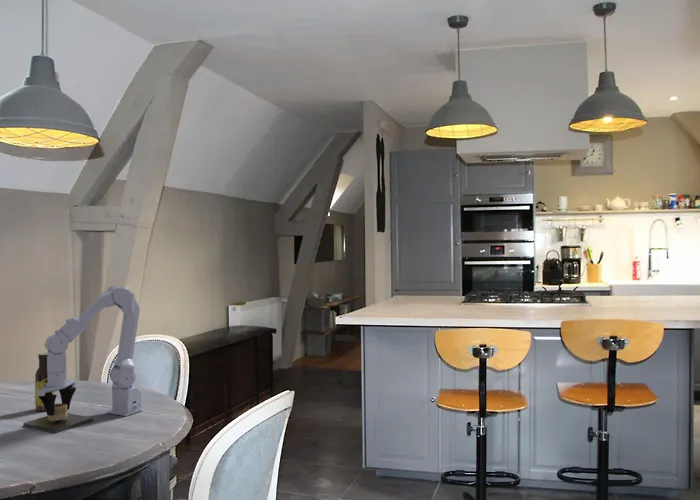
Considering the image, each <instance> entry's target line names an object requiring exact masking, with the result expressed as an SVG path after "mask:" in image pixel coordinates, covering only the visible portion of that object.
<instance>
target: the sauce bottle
mask: <svg viewBox="0 0 700 500" xmlns="http://www.w3.org/2000/svg"><path fill="white" fill-rule="evenodd" d="M37 356H38V357H37V358H38V368H37V370H36V372H35V375H34V376H35V381H34V386H35V387H34V389H35V390H34V392H35V393H34V395H35V396H34V398H35V399H34V401H35V404H34V405H35V411H37V412H46V409H45V407H44V404H43V402H42V401H41V399H40V398H39V396H38V390H39V389H41V388H43V387H45V386H46V384H48V372H47V357H48V356H47V352H42V353H38V355H37ZM55 392H56V391H55ZM55 392H52V394H53V395H56V394H55Z"/></svg>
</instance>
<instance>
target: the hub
mask: <svg viewBox="0 0 700 500" xmlns="http://www.w3.org/2000/svg"><path fill="white" fill-rule="evenodd" d="M67 414H68V417H67V418H66V419H62V420H58V421H50V420H47V415H46V416H43V417H38V418H36V419H32V420H29V421H25V422H23V426H22V427H26V428H30V429H36V430H41V431H44V432H49V433H55V434H57V433H60V432H63V431H67V430H69V429H72V428H76V427H78V426H82V425H84V424H87V423H90V422H93V421H94V418H93V417H91V416H86V415H80V414H75V413H69V412H67Z"/></svg>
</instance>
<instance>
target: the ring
mask: <svg viewBox="0 0 700 500" xmlns="http://www.w3.org/2000/svg"><path fill="white" fill-rule="evenodd" d="M67 413H68V410H67V404H64V403H62V402H61V403H55V404H54V415H52V416H50V415H47V414H46V416H47V420H50V421H58V420H62V419H66V418H67V417H68V414H67Z"/></svg>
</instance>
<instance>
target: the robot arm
mask: <svg viewBox="0 0 700 500" xmlns="http://www.w3.org/2000/svg"><path fill="white" fill-rule="evenodd" d="M135 295H136V294H135V293H134V292H133V291H132V290H131V289H130V288H129V287H126V286H121V285H119V284H118V285H117V284H114V285H111V286H109V287H108V288H107V289H106V290H104V291H102V293H101V294H100V295H99V296H98V297H96V298H95V300H94V301H93V302H92V303H91V304H89V306H88V307H87V308H85V310H84V311H82V312H81V314H80V315H79V316H73V317H71V318H67V319H66V320H65V323H64V324H63V325H62V326H61V327H60V328H59V329H56V330H55V331H53V332H54V334H50V335H49V336H47V338H46V340H45V343H44V347H45V349H46V351H47V352H46V353H47V356H48V357H47V372H48V384H46V386H45V387H43V388H41V389H39V390H38V396H39V398H40V399H41V401H42V402H43V404H44V407H45V409H46V411H45V412H46V416H47V415H50V416H52V415H54V404H56V398H57V397H58V396H57V394H55V395H53V394H52V392H57V391H59V394H60V399H61V404H62V403H64V404H67V411H68V410H70V407H71V402H72V399H73V396H74V394H75V393H76V391H77V388H76V386H77V380H76V379H68V374H67V373H68V370H67V350H68V348H69V344H70V343H72V342H74V340H75V339H76V338H77V337H78V336H79V335H81V333H83V332H84V331H85V330H86V325H87V323H88V322H90V321H91V320H92V319H93V318H95V316H97V314H99V313H100V312H102V310H104V309H105V308H110V307H115V306H117V307H118V308H119V309H120V311H121V312H122V313H123V315H122V323H121V329H120V330H121V331H120V336H119V343H118V349H117V357H116V359H115V360H114V363H113V367H112V369H111V370H110V371H109V378H110V380H111V381H112V385H111V401H112V403H111V404H112V405H111V406H112V409H110V410H108V411H106V414H112V415H117V416H122V417H127V416H131V415H135V414H136V413H139V412H142V411H144V409H143V408H142V394H141V391H140V389H139V388H137V387H135V384H134V383H135V381H136V376H137V375H136V374H135V363H134V352H135V345H136V338H137V333H138V332H137V331H138V325H139V320H140V319H139V317H140V306H139V304H138V302H137V299H136V297H135Z"/></svg>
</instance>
